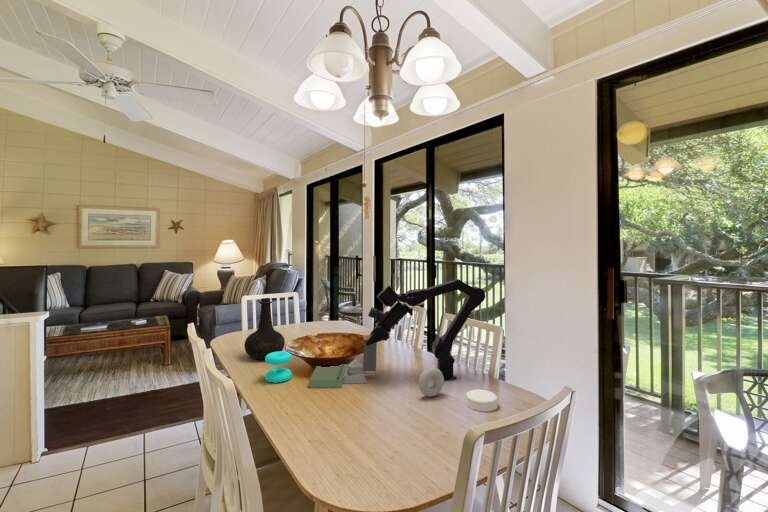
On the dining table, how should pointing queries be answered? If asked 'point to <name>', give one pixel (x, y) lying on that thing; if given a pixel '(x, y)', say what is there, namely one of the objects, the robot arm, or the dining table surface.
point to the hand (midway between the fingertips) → (366, 342)
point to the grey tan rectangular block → (369, 355)
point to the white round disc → (481, 400)
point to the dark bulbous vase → (264, 335)
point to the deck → (335, 376)
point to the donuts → (278, 373)
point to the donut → (425, 379)
